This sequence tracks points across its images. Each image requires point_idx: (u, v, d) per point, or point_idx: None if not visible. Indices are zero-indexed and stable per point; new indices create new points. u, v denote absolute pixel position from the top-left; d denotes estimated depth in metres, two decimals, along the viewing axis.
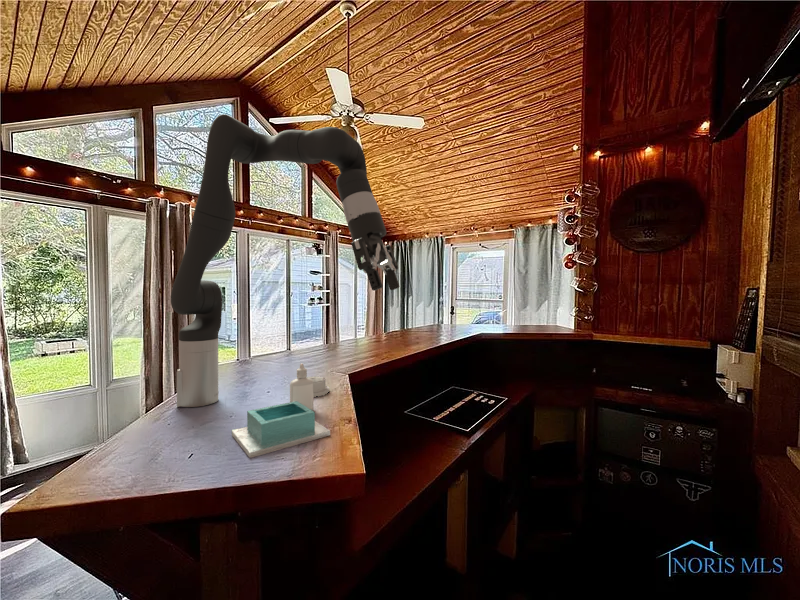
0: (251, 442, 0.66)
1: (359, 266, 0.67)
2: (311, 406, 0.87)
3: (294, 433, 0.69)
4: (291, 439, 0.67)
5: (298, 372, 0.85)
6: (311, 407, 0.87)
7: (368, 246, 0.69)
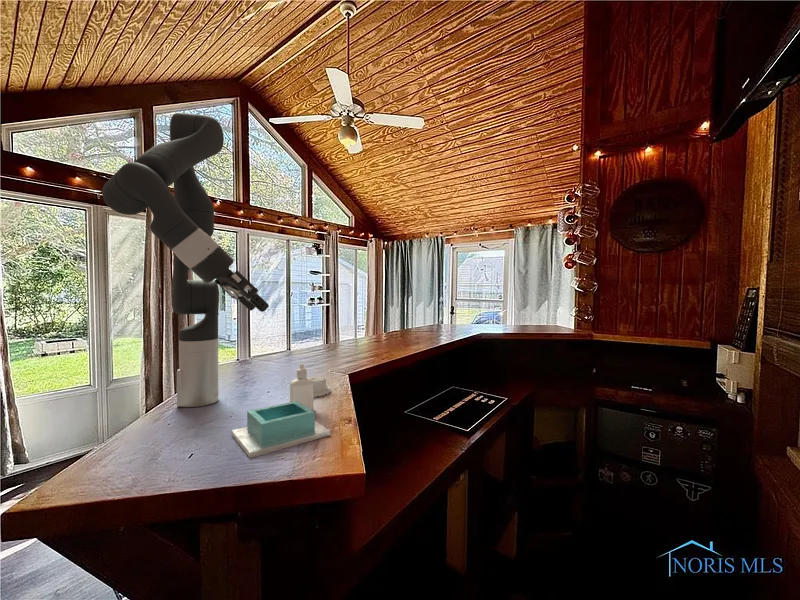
0: (251, 442, 0.66)
1: None
2: (311, 406, 0.87)
3: (294, 433, 0.69)
4: (291, 439, 0.67)
5: (298, 372, 0.85)
6: (311, 407, 0.87)
7: None
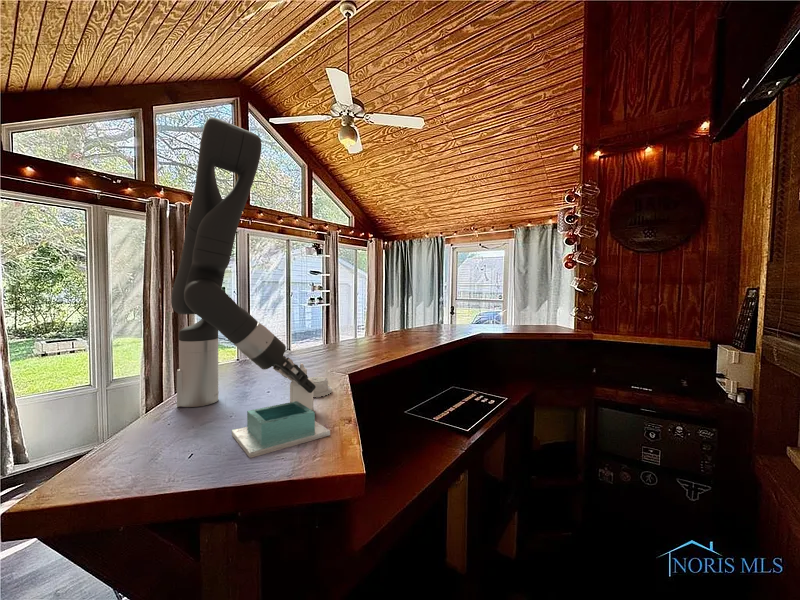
0: (251, 442, 0.66)
1: None
2: (311, 406, 0.87)
3: (294, 433, 0.69)
4: (291, 439, 0.67)
5: None
6: (311, 407, 0.87)
7: None
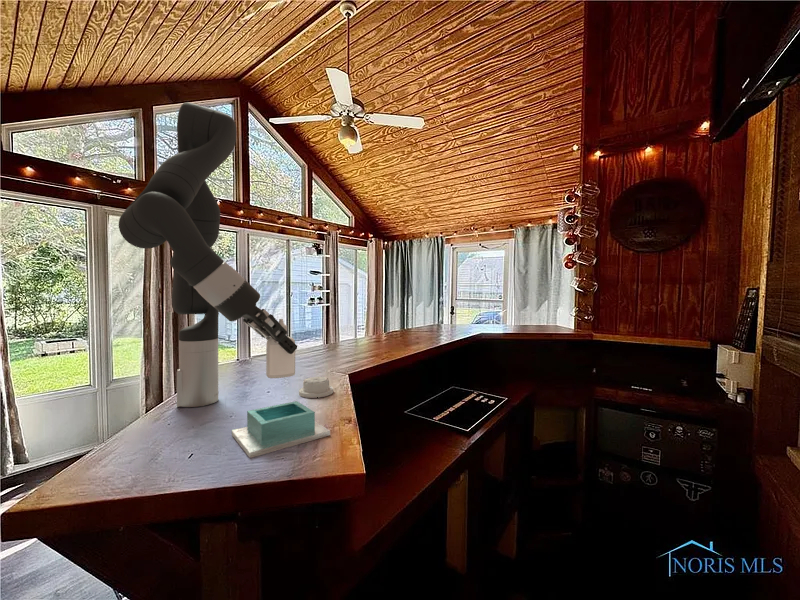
0: (251, 442, 0.66)
1: None
2: (292, 370, 0.71)
3: (294, 433, 0.69)
4: (291, 439, 0.67)
5: None
6: (292, 371, 0.71)
7: None
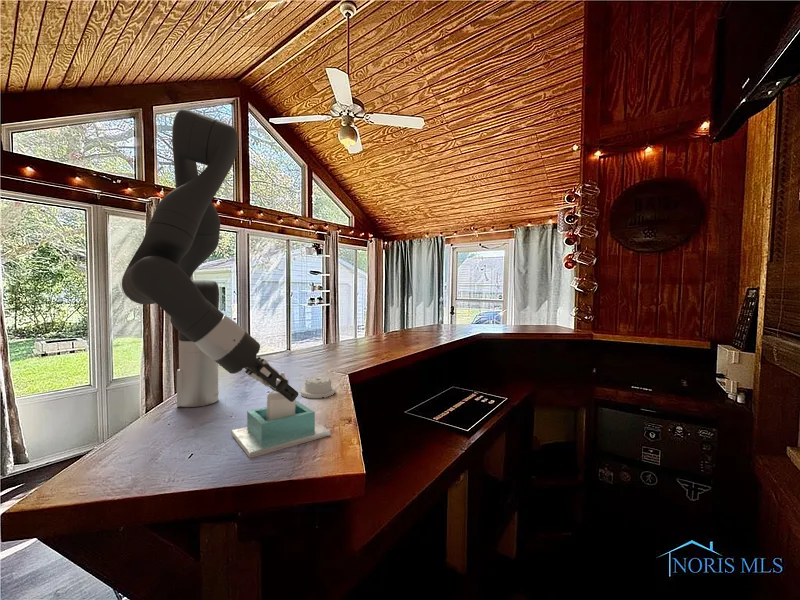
0: (251, 442, 0.66)
1: None
2: None
3: (294, 433, 0.69)
4: (291, 439, 0.67)
5: None
6: None
7: None
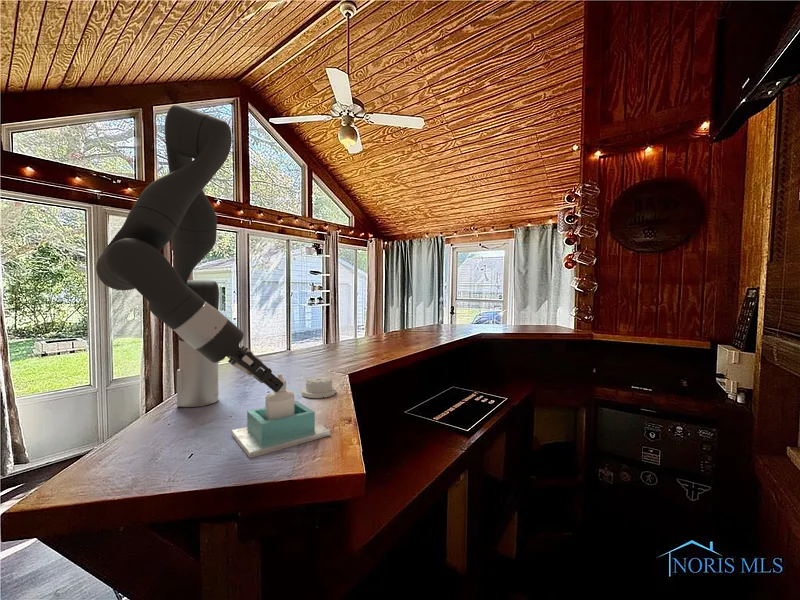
0: (251, 442, 0.66)
1: None
2: None
3: (294, 433, 0.69)
4: (291, 439, 0.67)
5: None
6: None
7: None
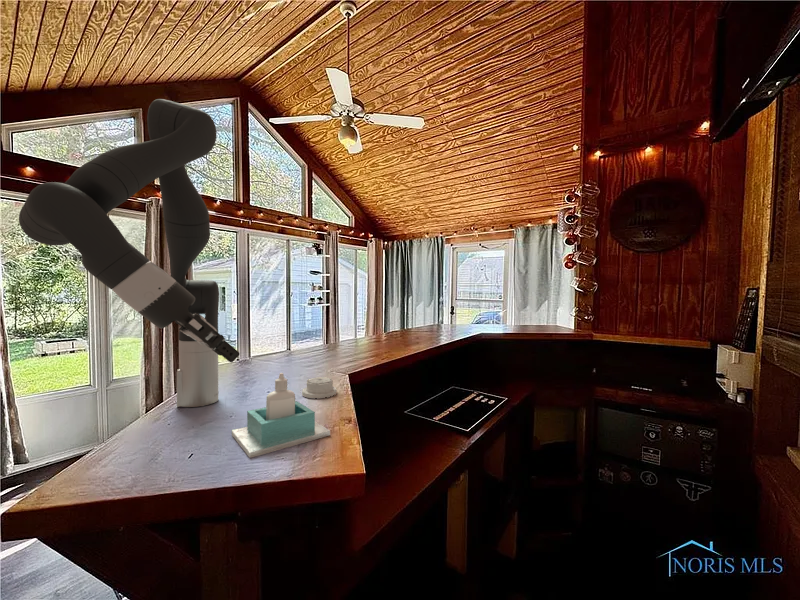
0: (251, 442, 0.66)
1: None
2: None
3: (294, 433, 0.69)
4: (291, 439, 0.67)
5: (277, 383, 0.70)
6: None
7: None
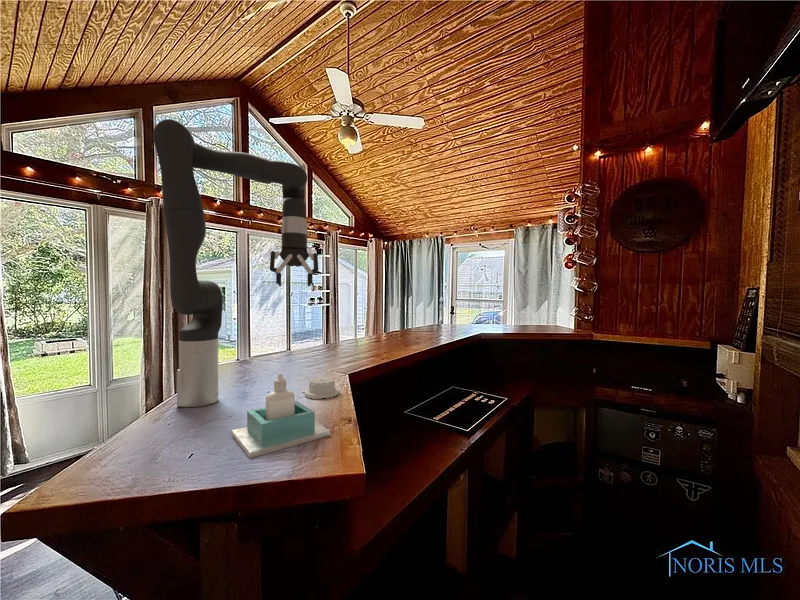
0: (251, 442, 0.66)
1: (270, 269, 1.04)
2: None
3: (294, 433, 0.69)
4: (291, 439, 0.67)
5: (276, 384, 0.70)
6: None
7: (281, 256, 1.03)
